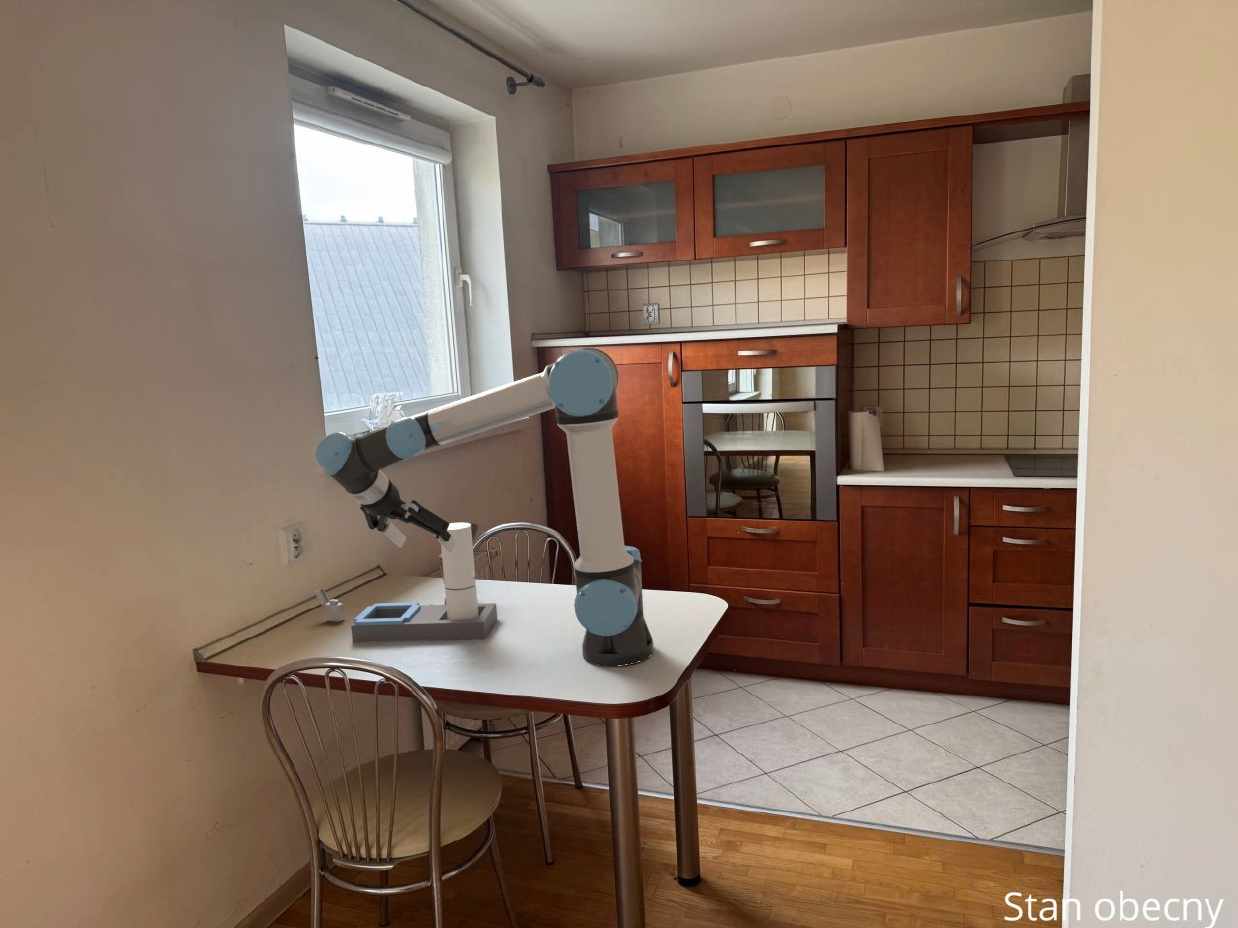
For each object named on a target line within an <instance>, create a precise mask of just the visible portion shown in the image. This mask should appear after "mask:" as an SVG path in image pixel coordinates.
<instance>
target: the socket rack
mask: <svg viewBox="0 0 1238 928" xmlns="http://www.w3.org/2000/svg"><path fill="white" fill-rule="evenodd" d="M478 616H479V617H478V618H477V619H463V620H448V616H447V605H445V604H430V605H429V604H425V605H424V604H422V605H421V604H420V602H419V601H418V602H415V601H413V602H387V603H386V602H385V603H384V602H383V603H381V602H380V603H374V604H373V605H372V606H371V605H370V606H367V607H366V608H364V610H362V612H360V613H359V614H358V615H357V616H356V617H354V619H353V623H352V624H351V625H350V626H351V638H352V642H353V643H360V642H361V643H364V642H366V643H368V642H374V643H375V642H407V641H408V642H409V641H414V642H415V641H445V640H446V641H449V640H482V639H483V640H484V639H486V637H487V636H488V635H489V633H490V631H491V629H492V628H494V627H493V626H494V625H495V624H496V622H497V620H498V612H497V603H494V602H490V603H478Z"/></svg>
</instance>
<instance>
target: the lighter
mask: <svg viewBox="0 0 1238 928" xmlns="http://www.w3.org/2000/svg"><path fill="white" fill-rule="evenodd" d="M314 592H315V594H316V597H317V598H318V601H319V603H320V605H321V606H325V608H326V609H325V610H326V617H327V621H328V620H335V621H342V620H344V621H345V614H344V604H343V603H342V602H339V600H338V599H335V598H332V599H329V597H328V594H327V592H326V591H325V588H324V587H321V588H318V589H317V590H315V591H314ZM342 622H343V621H342Z"/></svg>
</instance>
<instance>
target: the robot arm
mask: <svg viewBox="0 0 1238 928" xmlns="http://www.w3.org/2000/svg"><path fill="white" fill-rule="evenodd" d="M614 361H615V360H613V358H612V357H611V356H610V355H608V353H606V352H605V351H603V350H600V349H598V348H595V347H583V348H576V349H572V350H569V351H567V352H565V353H564V354H562V355H561V356H560V357H558V358H557V360H556V361H555V362H554V363H550V364H549V365H546V366H545V368H544V370H543V372H540V373H537V374H534V375H530V376H528V377H524V378H522V379H520V380H516V381H514V382H510V383H507V384H504V385H502V386H498V387H494V388H493V389H489V390H486V391H483V392H480V393H477V394H475V395H471V396H468V397H466V398H465V397H464V398H462V399H460V400H457V401H454V402H451V403H450V402H449V404H448V403H447V404H445V405H443V406H438V407H436V408H433V409H430V410H428V411H424V412H422V413H418V414H413V415H410V416H406V417H405V416H404V417H402V418H400V419H396V420H393V421H392V422H390V423H388V424H386V425H383V426H381V427H378V428H376V429H374V430H372V431H369V432H367V433H364V434H362V435H359V436H356V437H354V438H351V437H350V436H348V435H347V434H346V433H344V432H333V433H330V434H328V435H327V436H325V437H324V438H322V440H321V441H319V443H318V445H317V446H316V449H315V454H314V457H315V461H316V462H317V463H318V465H319V466H320V467H321V468H322V470H323V471H325V473H326V474H327V475H328V476H329V477H331V478H332V479H333V480H334V481H336V482H337V483H338V485H340V486H341V487H342V488H343V489H345V491H346V492H347V493H348V494H349V495H350V496H351V497H352V498H353V499H354V501H355V502H357V503H358V504H360V507H359V509H360V510H361V511H362V513H363V514H364V517H365V520H366V523H367V525H368V526H367V527H368V528H369V529H370V530H373V531H374V530H375V529H376V530H377V531H378V532H382V534H384V535H385V536H386V537H387V538H389V539H388V540H390V541H391V542H392V543H394V544H395V545H396V547H397V548H403V546H404V544H405V541H406V540H407V537H406V535H404V533H402V532H401V530H400V529H399V528H397V527H396V526H395V525H394V523H393V522H392V521H388V520H389V519H390V520H399V521H401V522H403V523H405V524H412V525H414V526H416V527H418V528H420V529H423V530H425V531H427V532H429V533H431V534H433V537H434V539H436V540H437V541H438V543H440V545H441V544H442V545H443V546H444V547H445V548H446V549H447V551H448V552H452V549H453V547H454V545H455V542H456V541H455V540H454V538H453V537H452V536H451V535H450V534H449V532H448V531H447V529H448V527H449V525H450V523H449V522H448V521H446V520H445V519H443V517H440V516H438V515H437V514H435V513H433V511H430V510H429V509H427V508H425V507H424V506H422V505H421V504H420V503H419V502H418V501H416V500H414V499H412V500H411V502H410V503H407V502H405V501H404V500H403V499H401V496H400V491H399V489H398V487H397V486H396V485H395V484H394V483H393V481H391V480H390V479H389V478H388V477H387V475H386V474H385V473H384V472H383V471H382V470H383V469H385V468H388V467H391V466H393V465H396V464H399V463H400V462H403V461H405V460H410V459H412V458H414V457H416V456H417V455H419V454H421V453H423V452H425V451H428V450H431V449H435V448H437V447H440V446H442V445H445V444H448V443H451V442H455V441H458V440H460V439H464V438H467V437H470V436H473V435H476V434H478V433H482V432H486V431H488V430H491V429H495V428H497V427H500V426H504V425H506V424H507V425H508V424H510V423H513V422H516V421H519V420H522V419H526V418H528V417H531V416H535V415H537V414H541V413H544V412H547V411H551V410H553V409H554V410H555V416H556V418H555V419H556V424H557V427H558V428H560V429H561V430H562V431H563V432H564V433H566V441H567V452H568V458H569V459H568V460H569V468H570V476H571V485H572V493H573V502H574V509H575V518H576V519H575V521H576V527H577V529H576V530H577V536H578V545H579V554H580V555H579V557H578V558H577V560H576V561H574V563H573V570H574V578H575V579H574V580H575V587H576V589H575V590H576V595H575V599H574V611H575V612H574V613H575V615H576V619H577V621H578V622H579V623H580V625H581V626H582V627H583V628H584V629H585V633H584V637H583V640H582V644H581V645H582V646H581V650H582V658H583V659H584V660H586V661H587V662H588V663H590V662H591V664H593V663H594V664H593V665H596V664H598V665H597V666H602V665H606V666H605V667H619V666H618V665H625V664H631V663H636V662H638V661H642V660H644V659H646V658H648V657H649V656H650V655H651V654H652V653H653V654H654V652H653V651H654V640H653V636H652V634H651V632H650V629H649V627H648V624H647V621H646V620H645V617H644V615H645V614H644V601H643V582H642V578H643V577H642V562H643V560H642V559H641V553H640V550H639V549H638V548H637V547H635V546H630V545H628V546H627V545H625V539H624V532H623V531H624V529H623V521H622V510H621V502H620V496H619V495H620V494H619V484H618V474H617V465H616V456H615V447H614V445H615V444H614V437H613V427H614V425H616V422H617V421H619V419H620V417H619V407H618V398H617V396H618V395H617V387H618V384H619V370H618V368H617V365H616V363H615V362H614ZM407 513H408V516H407V517H406V515H407ZM653 654H652V655H653ZM649 658H650V657H649ZM649 658H648V659H649ZM646 660H647V659H646ZM644 661H645V660H644ZM642 662H643V661H642ZM636 664H637V663H636Z"/></svg>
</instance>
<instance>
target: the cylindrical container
mask: <svg viewBox="0 0 1238 928" xmlns="http://www.w3.org/2000/svg"><path fill="white" fill-rule="evenodd" d="M469 523H470V522H451V523H449V524H450V525H449V527H448V529H447V531H448V532H449V534H450V535H451V536H452V537H453V538H454V540H455V541H456V542H455V545H454V547H453V549H452V552H448V551H447V549H446V548H445V547H444V546H443V545H442V544H441V543H440V547H441V548H440V549H441V553H442V561H443V572H444V580H443V584H444V583H445V584H444V593H445V598H446V605H447V616H448V620H463V619H477V618H478V617H479V616H478V604H479V603H478V596H477V594H478V593H477V583H476V571H475V560H474V559H475V558H474V547H473V546H474V545H473V541H472V533H471V524H469Z"/></svg>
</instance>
